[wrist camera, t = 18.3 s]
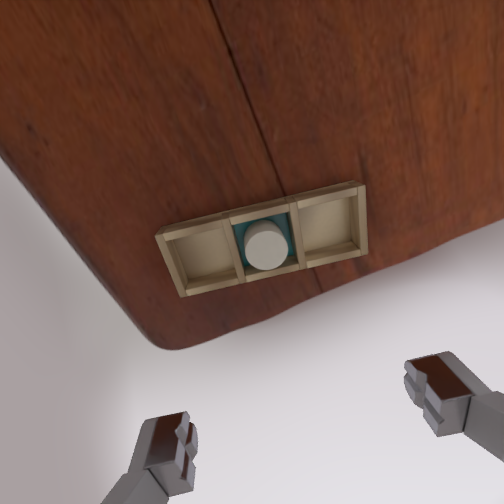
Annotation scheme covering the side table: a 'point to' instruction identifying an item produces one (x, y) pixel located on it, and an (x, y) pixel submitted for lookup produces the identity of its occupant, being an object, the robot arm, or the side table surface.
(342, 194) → the grid
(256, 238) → the cylinder
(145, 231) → the side table surface
